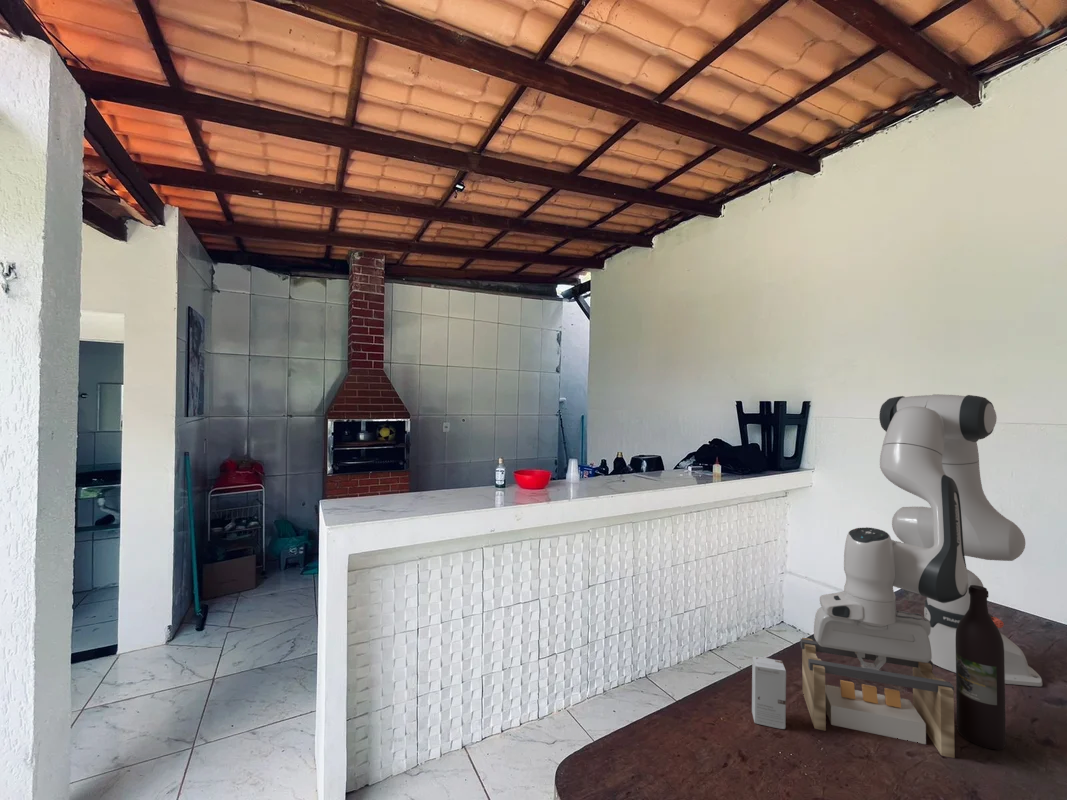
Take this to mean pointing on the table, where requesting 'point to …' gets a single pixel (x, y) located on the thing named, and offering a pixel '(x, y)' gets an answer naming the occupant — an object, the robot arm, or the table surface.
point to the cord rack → (927, 703)
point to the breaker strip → (874, 716)
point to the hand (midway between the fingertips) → (870, 673)
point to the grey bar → (880, 676)
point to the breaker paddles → (870, 693)
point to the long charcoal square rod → (852, 654)
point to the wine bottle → (980, 675)
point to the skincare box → (769, 692)
